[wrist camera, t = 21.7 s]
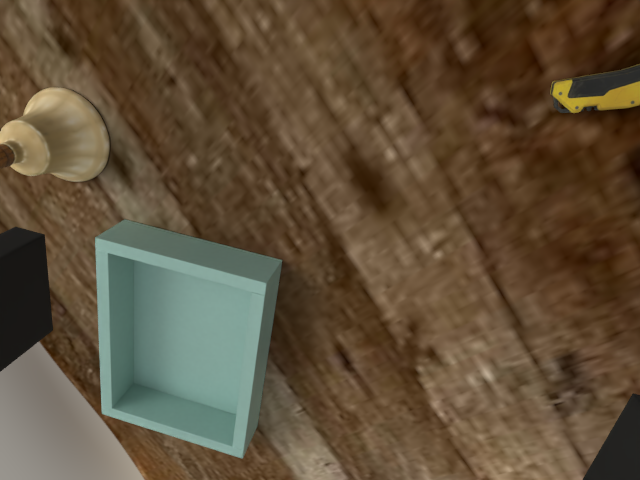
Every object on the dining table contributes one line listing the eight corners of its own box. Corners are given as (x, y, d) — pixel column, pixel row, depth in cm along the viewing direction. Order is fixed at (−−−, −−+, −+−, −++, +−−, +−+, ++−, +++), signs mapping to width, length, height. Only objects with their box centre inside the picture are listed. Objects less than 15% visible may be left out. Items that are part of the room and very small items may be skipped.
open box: (124, 219, 46) (94, 237, 42) (282, 259, 44) (266, 283, 40) (126, 385, 54) (101, 414, 50) (257, 426, 52) (242, 458, 48)
